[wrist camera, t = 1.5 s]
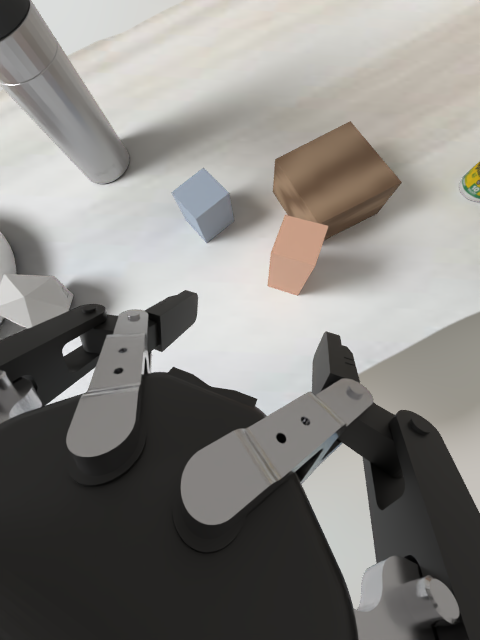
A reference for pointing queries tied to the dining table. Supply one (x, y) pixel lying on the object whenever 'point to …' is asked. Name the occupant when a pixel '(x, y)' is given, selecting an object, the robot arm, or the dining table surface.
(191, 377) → the robot arm
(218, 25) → the dining table surface
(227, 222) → the slate cube
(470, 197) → the supplement bottle
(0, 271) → the bowl
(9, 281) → the die
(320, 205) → the walnut block
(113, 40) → the dining table surface
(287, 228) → the pillar block
